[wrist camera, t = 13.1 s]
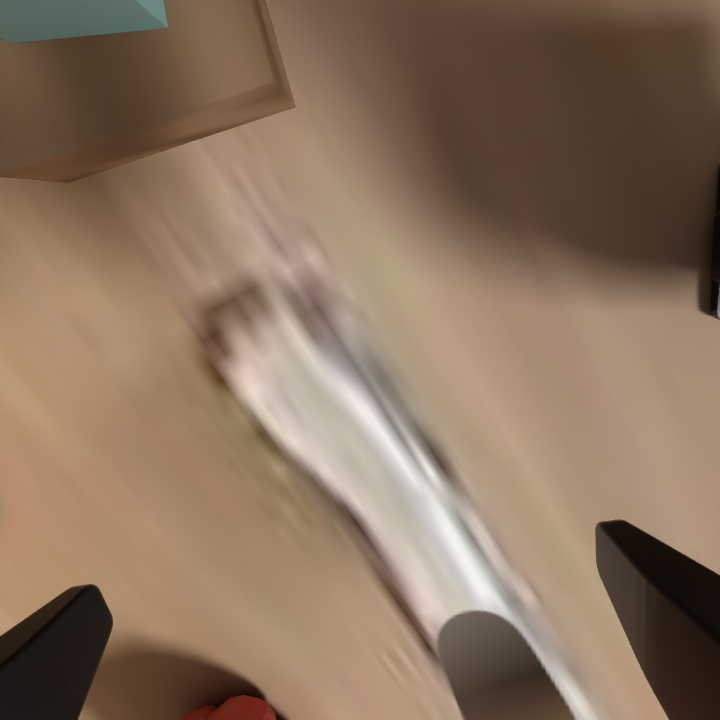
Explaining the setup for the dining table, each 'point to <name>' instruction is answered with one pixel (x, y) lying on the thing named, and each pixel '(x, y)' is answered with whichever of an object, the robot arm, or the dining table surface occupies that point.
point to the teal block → (77, 18)
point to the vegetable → (234, 710)
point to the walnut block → (137, 89)
